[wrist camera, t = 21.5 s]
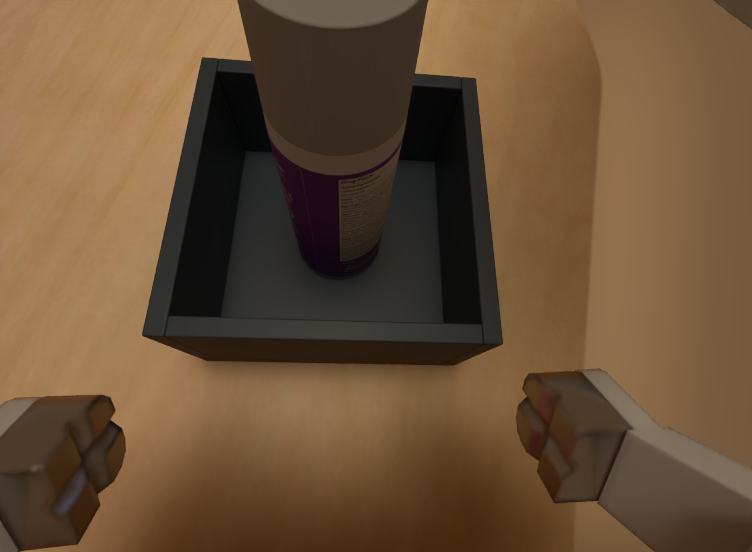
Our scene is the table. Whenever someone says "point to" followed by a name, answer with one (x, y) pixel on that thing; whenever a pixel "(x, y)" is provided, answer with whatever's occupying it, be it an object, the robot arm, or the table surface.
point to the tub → (281, 252)
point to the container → (335, 115)
